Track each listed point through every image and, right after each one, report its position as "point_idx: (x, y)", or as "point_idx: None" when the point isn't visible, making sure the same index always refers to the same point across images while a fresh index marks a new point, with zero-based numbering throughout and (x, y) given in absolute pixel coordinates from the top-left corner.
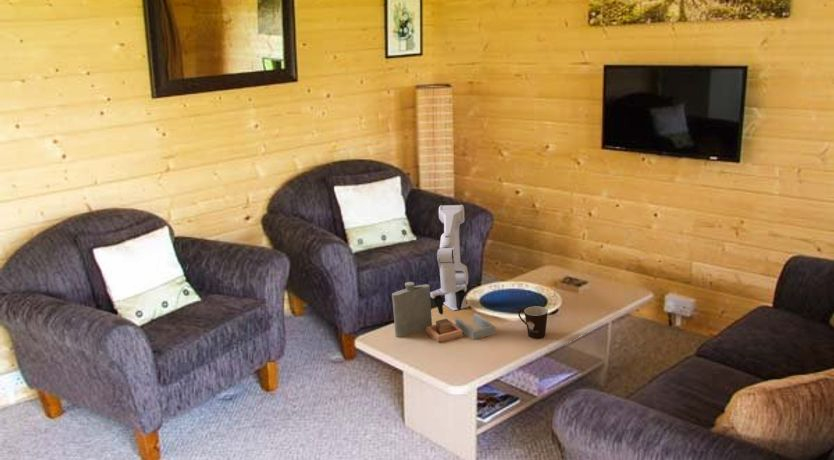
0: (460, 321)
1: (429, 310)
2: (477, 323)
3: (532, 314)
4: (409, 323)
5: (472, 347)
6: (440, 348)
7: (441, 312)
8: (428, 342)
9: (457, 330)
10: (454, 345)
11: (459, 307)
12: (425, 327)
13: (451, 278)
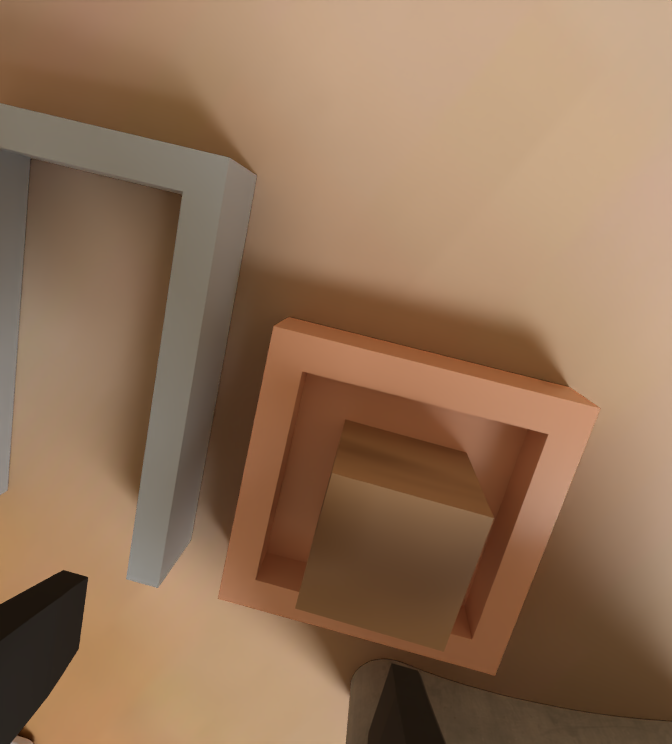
0: (157, 496)
1: None
2: (11, 426)
3: None
4: None
5: (398, 11)
6: (656, 268)
7: (427, 699)
8: (625, 468)
9: (318, 366)
10: (499, 212)
11: (54, 600)
12: (437, 693)
13: None
